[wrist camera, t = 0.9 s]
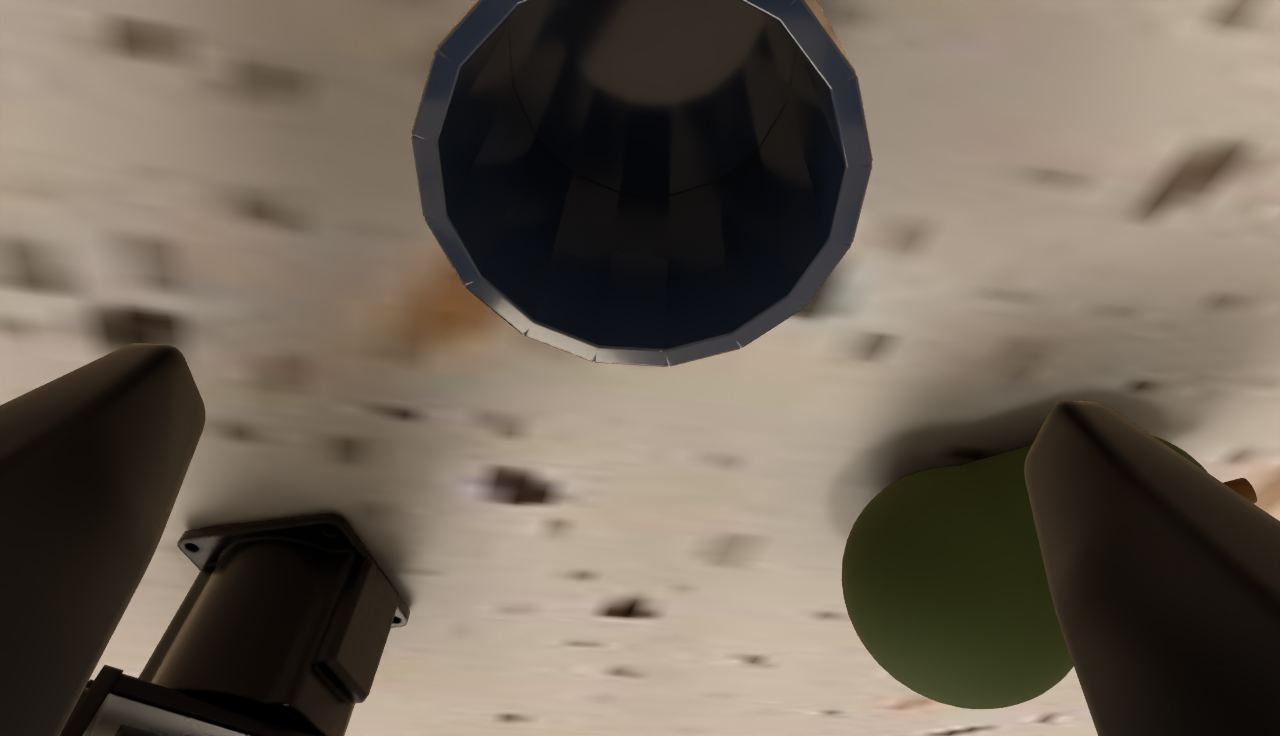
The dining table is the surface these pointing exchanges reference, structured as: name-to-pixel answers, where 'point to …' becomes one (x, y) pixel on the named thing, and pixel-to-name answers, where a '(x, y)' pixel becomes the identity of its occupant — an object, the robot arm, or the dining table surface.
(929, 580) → the avocado
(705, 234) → the blue coffee mug
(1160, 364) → the dining table surface
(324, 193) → the dining table surface
